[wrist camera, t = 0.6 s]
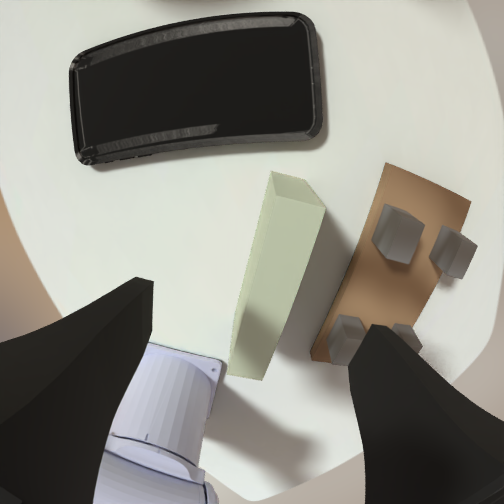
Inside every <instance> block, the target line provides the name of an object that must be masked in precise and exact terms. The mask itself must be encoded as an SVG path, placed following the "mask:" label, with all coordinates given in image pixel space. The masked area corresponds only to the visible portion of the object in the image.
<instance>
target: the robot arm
mask: <svg viewBox="0 0 504 504" xmlns="http://www.w3.org/2000/svg"><path fill="white" fill-rule="evenodd" d="M153 286H154V281H151V280H147V279H143V278H139V277H135V278H133V279H131V280H129V281H127V282H126V283H124V284H122V285H121V286H119V287H117V288H116V289H114V290H112V291H111V292H109V293H107V294H106V295H104V296H102V297H101V298H99V299H97V300H95V301H94V302H92V303H90V304H89V305H87V306H85V307H83V308H81V309H79V310H77V311H76V312H74V313H72V314H70V315H68V316H66V317H64V318H62V319H60V320H58V321H56V322H54V323H52V324H50V325H48V326H45V327H43V328H41V329H38V330H36V331H33V332H31V333H28V334H26V335H23V336H20V337H17V338H14V339H11V340H7V341H5V342H1V343H0V504H219V500H218V496H217V494H216V492H215V491H214V488H213V486H212V485H211V484H210V483H209V482H206V481H204V476H205V470H203V469H200V468H198V465H199V459H200V453H201V447H202V441H203V435H204V429H205V423H206V419H208V418H209V415H210V411H211V407H212V403H213V399H214V395H215V391H216V388H217V384H218V380H219V376H220V372H221V368H222V363H221V361H219V360H216V359H212V358H207V357H203V356H198V355H194V354H190V353H186V352H182V351H178V350H174V349H170V348H166V347H162V346H159V345H155V344H152V343H148V341H149V338H150V335H151V333H152V313H153ZM214 368H215V369H214ZM348 372H349V383H350V391H351V396H352V400H353V404H354V409H355V413H356V417H357V421H358V426H359V430H360V435H361V439H362V444H363V451H364V460H365V476H366V477H365V482H366V484H365V487H366V489H365V490H366V491H365V494H366V495H365V504H504V421H502V420H500V419H498V418H496V417H495V416H493V415H491V414H490V413H488V412H486V411H485V410H484V409H482V408H480V407H479V406H477V405H476V404H475V403H473V402H471V401H470V400H469V399H468V398H467V397H465V396H464V395H463V394H461V393H460V392H459V391H457V390H456V389H455V388H454V387H453V386H451V385H450V384H449V383H448V382H447V381H446V380H445V379H444V378H443V377H441V376H440V375H439V374H438V373H437V372H436V371H435V370H434V369H433V368H432V367H431V366H430V365H429V364H428V363H426V362H425V361H424V360H423V359H422V358H421V357H420V356H419V355H418V354H417V353H416V352H415V351H414V350H413V349H412V348H411V347H410V346H409V345H408V344H407V343H406V342H405V341H404V340H403V339H401V338H400V337H399V336H398V335H397V334H396V333H395V332H394V331H392V330H391V329H390V328H389V327H387V326H384V325H377V324H371V326H370V328H369V330H368V332H367V334H366V335H365V337H364V339H363V341H362V342H361V344H360V346H359V348H358V349H357V351H356V353H355V355H354V356H353V358H352V360H351V361H350V363H349V365H348Z"/></svg>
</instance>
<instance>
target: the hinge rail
mask: <svg viewBox="0 0 504 504" xmlns="http://www.w3.org/2000/svg"><path fill="white" fill-rule="evenodd" d="M470 204H471V201H469V200H467V199H466V198H464V197H462V196H460V195H458V194H456V193H454V192H452V191H450V190H448V189H446V188H444V187H442V186H440V185H437V184H435V183H433V182H431V181H429V180H427V179H424V178H422V177H420V176H418V175H415V174H413V173H411V172H408V171H406V170H404V169H401V168H399V167H396V166H394V165H391V164H389V163H385V166H384V169H383V173H382V176H381V179H380V182H379V185H378V188H377V191H376V194H375V197H374V200H373V203H372V206H371V209H370V212H369V215H368V217H367V220H366V223H365V226H364V228H363V231H362V234H361V236H360V239H359V242H358V244H357V247H356V250H355V252H354V255H353V257H352V260H351V262H350V265H349V267H348V269H347V272H346V274H345V277H344V279H343V281H342V284H341V286H340V288H339V291H338V293H337V295H336V298H335V300H334V302H333V304H332V307H331V309H330V311H329V313H328V315H327V317H326V320H325V322H324V324H323V326H322V328H321V330H320V332H319V334H318V336H317V339H316V341H315V343H314V345H313V347H312V349H311V351H310V354H311V360H312V361H320V362H328V363H332V364H334V365H344V366H348V365H349V363H350V361H351V360H352V358H353V356H354V355H355V353H356V351H357V349H358V348H359V346H360V344H361V342H362V341H363V339H364V337H365V335H366V334H367V332H368V330H369V328H370V326H371V324H377V325H384V326H387V327H389V328H390V329H391V330H392V331H394V332H395V333H396V334H397V335H398V336H399V337H400V338H401V339H403V340H404V341H405V342H406V343H407V344H408V345H409V346H410V347H411V348H412V349H413V350H414V351H415V352H416V353H417V354H418V353H419V351H420V350H421V348H422V347H423V346H422V344H421V343H420V341H419V339H418V337H417V336H416V334H415V332H414V330H413V329H412V327H413V325H414V324H415V322H416V320H417V319H418V317H419V315H420V313H421V312H422V310H423V308H424V306H425V305H426V303H427V301H428V299H429V297H430V295H431V294H432V292H433V290H434V288H435V286H436V284H437V282H438V280H439V278H440V276H441V274H442V272H444V273H445V274H446V275H448V276H452V277H455V278H459V279H463V277H464V275H465V273H466V271H467V269H468V267H469V264H470V262H471V260H472V258H473V256H474V254H475V251H476V249H477V247H478V246H477V245H476V244H475V243H473V242H472V241H471V240H469V239H468V238H467V237H465V236H464V235H462V234H461V233H460V231H461V229H462V226H463V224H464V221H465V218H466V216H467V213H468V210H469V207H470Z"/></svg>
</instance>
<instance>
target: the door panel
mask: <svg viewBox="0 0 504 504" xmlns="http://www.w3.org/2000/svg"><path fill="white" fill-rule="evenodd" d="M325 210H326V207H325V206H324V205H323V203H322V202H321V201H320V199H319V198H318V197H317V195H316V194H315V193H314V191H313V190H312V189H311V187H310V186H309V185H308V183H307V182H306V181H305V180H304V179H301V178H297V177H293V176H289V175H286V174H282V173H278V172H274V171H271V173H270V177H269V181H268V185H267V189H266V192H265V196H264V200H263V204H262V208H261V212H260V216H259V220H258V224H257V228H256V232H255V236H254V240H253V244H252V247H251V251H250V255H249V259H248V263H247V267H246V271H245V275H244V279H243V283H242V287H241V291H240V295H239V299H238V303H237V307H236V311H235V317H234V324H233V331H232V339H231V346H230V354H229V361H228V369H227V375H232V376H238V377H243V378H249V379H255V380H261V381H262V380H263V378H264V375H265V373H266V370H267V368H268V366H269V363H270V361H271V358H272V356H273V353H274V351H275V349H276V346H277V344H278V341H279V339H280V336H281V334H282V331H283V328H284V326H285V323H286V321H287V318H288V315H289V313H290V310H291V308H292V305H293V302H294V300H295V297H296V294H297V292H298V289H299V286H300V283H301V281H302V278H303V275H304V272H305V269H306V267H307V264H308V261H309V258H310V255H311V252H312V249H313V246H314V244H315V241H316V238H317V235H318V232H319V229H320V226H321V223H322V219H323V216H324V213H325Z"/></svg>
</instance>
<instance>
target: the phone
mask: <svg viewBox="0 0 504 504" xmlns="http://www.w3.org/2000/svg"><path fill="white" fill-rule="evenodd" d="M69 94H70V111H71V123H72V133H73V142H74V150H75V154H76V157H77V159H78V160H79V161H80V162H81V163H82V164H84V165H94V164H99V163H103V162H105V163H108V162H113V161H114V160H118V159H120V160H124V159H130V158H135V157H134V156H138V157H143V156H149V155H151V154H152V153H159V152H165V151H172V150H180V149H188V148H196V147H205V146H215V145H227V144H239V143H255V142H276V141H304V140H309V139H311V138H313V137H315V136H316V135H317V134H318V133H319V131H320V129H321V127H322V122H323V116H322V97H321V82H320V69H319V57H318V47H317V37H316V29H315V26H314V23H313V22H312V21H311V19H310V18H308V17H307V16H306V15H303V14H301V13H298V12H254V13H240V14H229V15H220V16H212V17H205V18H199V19H193V20H187V21H182V22H177V23H172V24H168V25H163V26H159V27H155V28H151V29H147V30H144V31H140V32H137V33H133V34H130V35H127V36H124V37H120V38H117V39H114V40H112V41H109V42H106V43H103V44H100V45H98V46H95V47H93V48H90V49H88V50H85V51H83V52H81V53H79V54H78V55H77V56H76V57H75V58H74V59H73V61H72V63H71V65H70V68H69Z"/></svg>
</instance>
